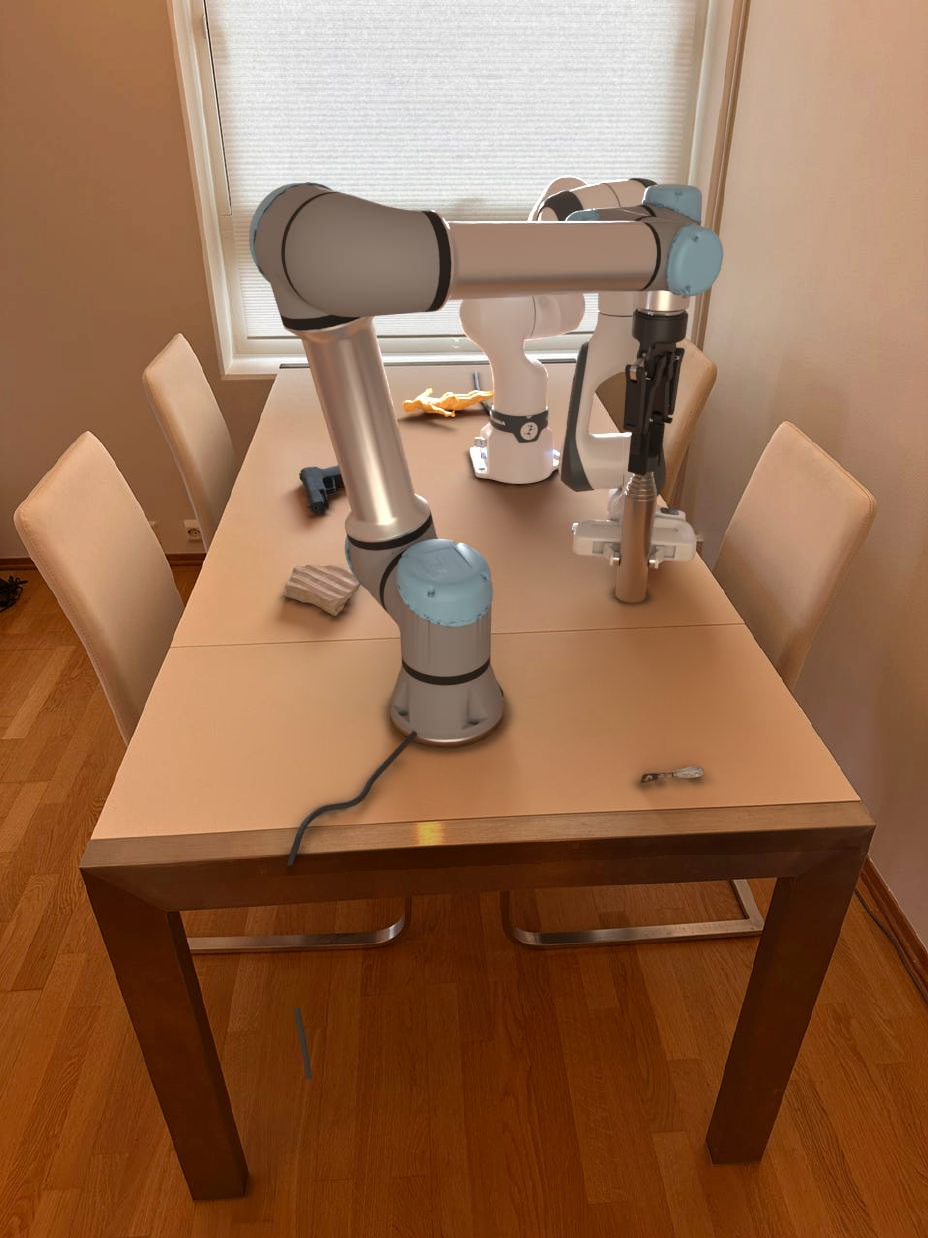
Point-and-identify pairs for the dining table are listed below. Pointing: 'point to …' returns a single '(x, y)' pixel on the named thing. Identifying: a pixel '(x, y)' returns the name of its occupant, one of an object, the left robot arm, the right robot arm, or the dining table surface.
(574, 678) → the dining table surface
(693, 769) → the putty knife
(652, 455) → the cap
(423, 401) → the human figure
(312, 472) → the handgun
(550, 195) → the right robot arm
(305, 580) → the stone
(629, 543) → the bottle
